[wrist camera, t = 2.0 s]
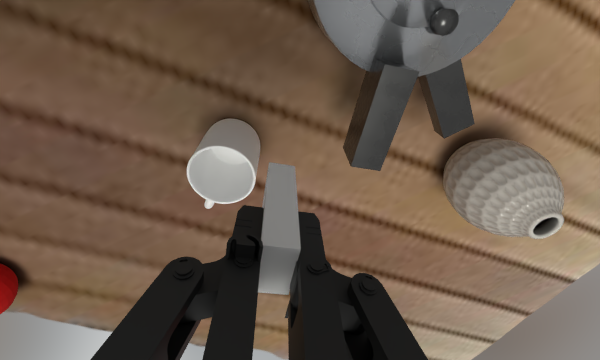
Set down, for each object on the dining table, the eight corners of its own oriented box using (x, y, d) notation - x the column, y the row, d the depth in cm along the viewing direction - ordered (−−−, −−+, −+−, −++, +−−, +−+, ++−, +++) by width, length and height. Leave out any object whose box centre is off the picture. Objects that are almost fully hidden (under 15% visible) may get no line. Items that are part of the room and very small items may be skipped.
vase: (522, 130, 44) (635, 187, 30) (482, 196, 51) (559, 268, 36) (447, 119, 42) (530, 174, 28) (416, 188, 49) (470, 261, 35)
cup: (269, 131, 42) (266, 163, 33) (240, 190, 47) (230, 231, 39) (216, 107, 40) (198, 134, 31) (192, 172, 45) (170, 211, 36)
